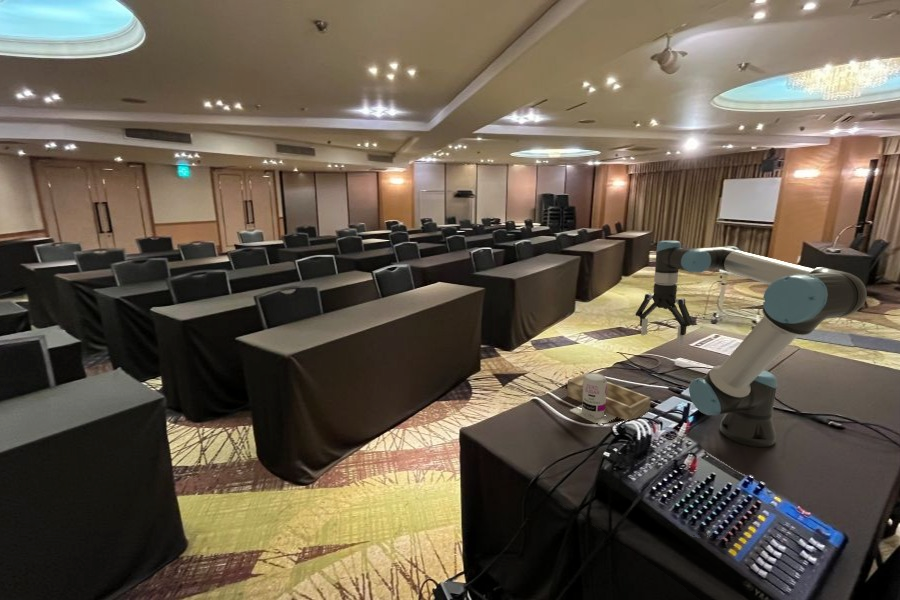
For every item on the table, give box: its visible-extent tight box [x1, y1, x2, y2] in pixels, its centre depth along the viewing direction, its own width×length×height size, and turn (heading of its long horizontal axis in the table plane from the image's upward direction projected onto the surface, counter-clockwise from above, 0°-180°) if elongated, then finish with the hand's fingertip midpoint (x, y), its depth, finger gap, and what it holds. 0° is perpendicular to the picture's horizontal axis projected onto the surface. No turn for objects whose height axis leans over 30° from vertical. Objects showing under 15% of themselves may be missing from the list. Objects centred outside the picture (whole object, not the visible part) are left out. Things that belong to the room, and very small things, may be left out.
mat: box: [569, 404, 617, 425], centre depth 154 cm, size 14×9×1 cm, turn 35°
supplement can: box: [581, 372, 608, 419], centre depth 152 cm, size 8×8×15 cm
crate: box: [566, 371, 651, 420], centre depth 161 cm, size 28×13×7 cm, turn 35°
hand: (661, 338), depth 155 cm, fingers open, 13 cm apart
